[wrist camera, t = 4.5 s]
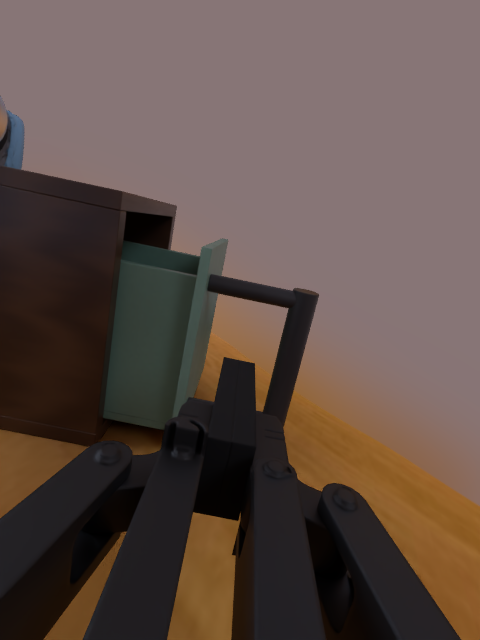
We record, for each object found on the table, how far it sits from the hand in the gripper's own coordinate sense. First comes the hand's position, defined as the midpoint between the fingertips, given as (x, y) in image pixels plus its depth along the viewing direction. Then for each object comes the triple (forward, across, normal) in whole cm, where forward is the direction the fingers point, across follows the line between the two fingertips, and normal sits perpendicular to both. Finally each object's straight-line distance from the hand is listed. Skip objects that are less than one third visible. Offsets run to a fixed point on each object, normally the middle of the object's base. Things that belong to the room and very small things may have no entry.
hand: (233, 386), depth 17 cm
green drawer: (+11, -6, -7) cm, 14 cm away
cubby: (+11, -15, -8) cm, 20 cm away
